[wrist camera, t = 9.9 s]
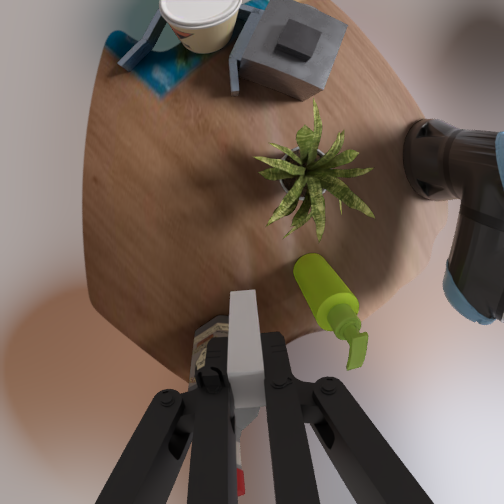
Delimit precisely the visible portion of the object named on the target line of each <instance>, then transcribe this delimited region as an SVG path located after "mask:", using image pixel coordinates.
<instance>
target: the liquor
mask: <svg viewBox="0 0 504 504" xmlns="http://www.w3.org/2000/svg"><path fill="white" fill-rule="evenodd" d="M228 333H229V316H222V315H218V316H216V317H215V318H213V319H212V320H210V321H209V322H207V323H206V324H204V325H203V326H201V327H200V328H198V329H197V330H196V331H195V337H194V344H193V353H192V361H191V369H190V378H189V388H188V392H189V391H192V390H194V389H196V388H197V387H198V386H197V383H196V380H195V377H194V375H195V373H196V371H197V370H198V369H199V368H201V367H203V366H204V365H205V359H206V349H207V344H208V342H209V341H210V339H211V338H214V337H228ZM259 409H260V407H251V408H235V405H234V413H235V417H236V457H237V496H241V495H244V494H245V486H244V474H243V471H242V470H241V454H240V436H241V431H242V430H243V429H244V428H245V427H246V426H247V425H249V424H250V423H251V422H252V421H253V420H254V419H255V418H256V417H257V416H258V412H259Z"/></svg>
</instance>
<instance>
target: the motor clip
mask: <svg viewBox="0 0 504 504" xmlns="http://www.w3.org/2000/svg"><path fill="white" fill-rule="evenodd" d="M237 18H238V19H242V20H245V21H246V23H245V25H244V27H243V29H242V31H241V33H240V35H239V37H238V39H237V41H236V43H235V45H234V47H233V50H232V52H231V54H230V56H229V77H230V89H231V96H238V95H239V81H238V77H240V78H243V79H246V80H249V81H252V82H254V83H257V84H260V85H263V86H266V87H268V88H271V89H274V90H276V91H279V92H281V93H284V94H286V95H289V96H291V97H293V98H296V99H298V100H300V101H304V100H306V99H308V98H310V97H311V96H313V95H315V94H317V93H319V92H320V91H322V90H324V87H325V84H326V82H327V79H328V76H329V74H330V71H331V69H332V66H333V63H334V61H335V58H336V55H337V53H338V50H339V47H340V45H341V42H342V39H343V37H344V34H345V32H346V29H347V26H348V25H347V24H345V23H343V22H341V21H339V20H337V19H335V18H333V17H331V16H329V15H327V14H324V13H322V12H320V11H319V10H317V9H316V8H314V7H313V6H310V5H307V4H301V3H299V2H296V1H293V0H270V2H269V3H268V5H267V7H266V9H265V11H264V10H261V9H258V8H254V7H251V6H247V5H244V4H241V5H240V8H239V10H238V14H237ZM166 23H167V21H166V20H165V19H164V18H163V16H162V15H161V13H160V10H159V8H158V10H157V12H156V14H155V15H154V17H153V19H152V21H151V22H150V24H149V26H148V28H147V30H146V32H145V33H144V35H143V37H142V39H141V40H140V41H139V42H138V43H137V44H135V45H134V46H133V47H132V48H131V49H130V50H129V51H128V52H127V53H126V54H125V55H124V56H123V58H122V59H121V60H120V61H119V62H118V64H119V65H120V66H122V67H123V68H124V69H126V70H127V71H128V72H130V71H131V70H132V69H133V68H134V67H135V66H136V65H137V64H138V63H139V62H140V61H141V60H142V59H143V58H144V57H145V56H146V55H147V54H148V53H149V52H150V51H151V50H152V49H153V48H152V47H154V46H155V44H156V42H157V40H158V38H159V36H160V34H161V32H162V30H163V28H164V27H165V25H166ZM237 67H238V68H240V69H239V75H238V70H237Z"/></svg>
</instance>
